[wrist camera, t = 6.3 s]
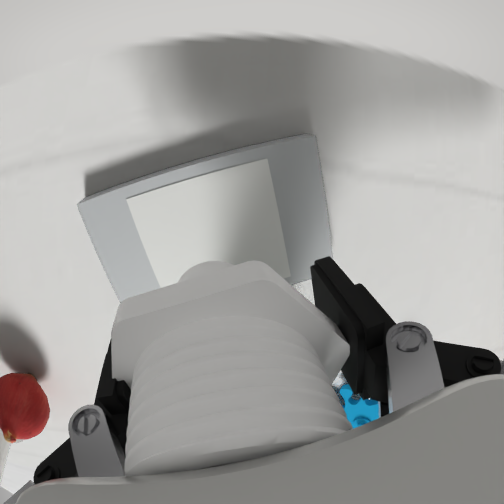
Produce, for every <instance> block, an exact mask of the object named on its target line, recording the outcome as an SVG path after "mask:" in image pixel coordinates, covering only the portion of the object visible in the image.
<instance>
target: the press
mask: <svg viewBox="0 0 504 504" xmlns="http://www.w3.org/2000/svg"><path fill="white" fill-rule="evenodd" d="M77 206H78V209H79V212H80V214H81V217H82V219H83V222H84V224H85V227H86V229H87V232H88V234H89V236H90V239H91V241H92V244H93V246H94V248H95V251H96V253H97V255H98V257H99V260H100V262H101V264H102V266H103V268H104V270H105V273H106V275H107V277H108V279H109V281H110V283H111V285H112V287H113V289H114V291H115V293H116V295H117V297H118V299H119V301H120V303H121V302H122V301H123V300H125V299H127V298H129V297H132V296H136V295H139V294H142V293H146V292H149V291H152V290H156V289H159V288H162V287H165V286H169V285H172V284H175V283H177V282H178V281H179V279H180V278H181V276H182V275H183V274H184V273H185V272H186V271H187V270H188V269H189V268H191V267H193V266H195V265H197V264H199V263H203V262H207V261H222V262H228V263H230V264H233V265H237V264H241V263H244V262H247V261H254V260H256V261H261V262H263V263H265V264H267V265H268V266H269V267H271V268H272V269H273V270H274V271H275V272H276V273H278V274H279V275H280V276H281V277H282V278H283V279H284V280H286V281H287V282H288V283H289V284H290V285H293V284H296V283H299V282H302V281H306V280H309V279H312V278H311V271H310V266H312V265H314V261H315V260H318V259H321V258H325V257H328V256H330V257H331V258H332V259H333V255H332V245H331V237H330V228H329V220H328V212H327V205H326V198H325V191H324V184H323V177H322V171H321V165H320V159H319V153H318V147H317V141H316V136H315V135H310V134H302V135H297V136H292V137H287V138H283V139H278V140H273V141H269V142H264V143H260V144H256V145H252V146H247V147H243V148H239V149H235V150H231V151H227V152H224V153H220V154H216V155H212V156H209V157H205V158H201V159H198V160H194V161H191V162H188V163H184V164H181V165H177V166H174V167H171V168H168V169H164V170H161V171H158V172H155V173H152V174H149V175H146V176H143V177H140V178H137V179H134V180H131V181H128V182H125V183H123V184H120V185H117V186H114V187H111V188H109V189H106V190H103V191H101V192H98V193H95V194H93V195H90V196H88V197H85V198H84V199H83V200H81V201H80V202H79V203H78V204H77Z"/></svg>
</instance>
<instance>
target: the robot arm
mask: <svg viewBox="0 0 504 504" xmlns="http://www.w3.org/2000/svg"><path fill="white" fill-rule="evenodd" d="M310 271H311V278H312V285H313V292H314V300H315V306H316V307H317V308H318V309H319V310H320V311H321V312H323V313H324V314H325V315H326V316H327V317H328V318H330V319H331V320H332V321H333V322H334V323H335V324H336V325H337V326H338V328H339V329H340V331H341V333H342V334H343V336H344V337H345V339H346V341H347V342H348V344H349V345H350V355H349V357H348V358H347V360H346V362H345V363H344V365H343V367H342V368H341V371H342V372H343V374H344V376H345V378H346V380H347V382H348V384H349V386H350V387H351V389H352V391H353V393H354V394H358V393H359V394H360V396H361V397H362V399H363V400H366V399H368V398H371V399H372V400H376V401H378V405H379V418H378V419H376V420H373V421H371V422H369V423H366V424H364V425H361V426H359V427H356V428H354V429H351V430H349V431H346V432H343V433H341V434H338V435H335V436H332V437H329V438H327V439H324V440H321V441H318V442H315V443H311V444H308V445H305V446H302V447H298V448H295V449H292V450H288V451H285V452H281V453H277V454H273V455H270V456H266V457H261V458H257V459H253V460H248V461H244V462H239V463H234V464H229V465H224V466H218V467H212V468H206V469H200V470H193V471H185V472H177V473H168V474H157V475H143V476H125V475H126V474H125V471H124V466H125V458H126V454H125V446H126V441H127V436H126V433H127V427H128V413H129V403H130V396H131V389H130V387H129V386H128V385H127V383H126V382H125V381H124V380H121V381H117V379H116V378H113V379H112V356H111V341H110V344H109V348H108V352H107V354H106V357H105V360H104V364H103V368H102V372H101V377H100V381H99V385H98V389H97V394H96V398H95V403H94V405H86V406H83V407H81V408H80V409H78V410H77V411H76V412H75V413H74V414H73V415H72V417H71V419H70V421H69V435H70V438H69V439H68V440H66V441H65V442H64V443H63V444H62V445H61V446H60V447H59V448H57V449H56V450H55V451H54V452H53V453H52V454H51V455H49V456H48V457H47V458H46V459H45V460H44V461H43V462H42V463H40V465H39V466H38V467H37V469H36V471H35V473H34V482H32V481H31V480H30V481H29V482H28V483H26V484H25V485H24V486H23V487H22V488H21V489H20V490H18V491H17V492H16V493H15V494H14V495H13V496H12V497H11V498H9V499H8V500H7V501H6V502H5V503H4V504H504V360H503V361H500V360H499V358H498V357H497V356H496V355H495V354H494V353H493V352H491V351H489V350H486V349H482V348H475V347H469V346H462V345H456V344H450V343H444V342H438V341H433V338H432V335H431V333H430V331H429V330H428V329H427V328H426V327H425V326H423V325H422V324H420V323H416V322H402V323H398V324H396V323H395V322H394V321H393V320H392V318H391V317H390V316H389V315H388V314H387V313H386V311H385V310H384V309H383V308H382V307H381V305H380V304H379V303H378V302H377V301H376V300H375V298H374V297H373V296H372V295H371V294H370V293H369V292H368V290H367V289H366V288H365V287H364V286H363V285H362V284H360V283H359V284H356V285H354V284H353V283H352V281H351V280H350V279H349V278H348V277H347V275H346V274H345V273H344V272H343V271H342V270H341V268H340V267H339V266H338V265H337V264H336V263H335V261H334V260H333V259H332V258H331V257H330V256H328V257H325V258H321V259H318V260H315V261H314V265H312V266H310ZM23 440H24V439H16V442H13V443H18V442H22V441H23ZM10 446H11V443H9V442H7V441H6V440H5V439H4V436H3V432H2V430H1V428H0V485H1V480H2V476H3V472H4V468H5V464H6V460H7V456H8V453H9V449H10Z"/></svg>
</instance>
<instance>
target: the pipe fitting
mask: <svg viewBox="0 0 504 504" xmlns="http://www.w3.org/2000/svg"><path fill="white" fill-rule="evenodd" d="M349 355H350V345H349V344H348V342H347V341H346V339H345V337H344V336H343V334H342V333H341V331H340V329H339V328H338V326H337V325H336V324H335V323H334V322H333V321H332V320H331V319H330V318H328V317H327V316H326V315H325V314H324V313H323V312H321V311H320V310H319V309H318V308H317V307H316V306H315V305H313V304H312V303H311V302H310V301H309V300H308V299H306V298H305V297H304V296H303V295H302V294H301V293H300V292H298V291H297V290H296V289H295V288H294V287H293V286H291V285H290V284H289V283H288V282H287V281H286V280H284V279H283V278H282V277H281V276H280V275H279V274H278V273H276V272H275V271H274V270H273V269H272V268H271V267H269V266H268V265H267V264H265V263H263V262H261V261H256V260H254V261H247V262H244V263H241V264H237V265H233V264H230V263H228V262H222V261H207V262H203V263H199V264H197V265H195V266H193V267H191V268H189V269H188V270H187V271H186V272H185V273H184V274H183V275H182V276H181V278H180V279H179V281H178V282H177V283H175V284H172V285H169V286H165V287H162V288H159V289H156V290H152V291H149V292H146V293H142V294H139V295H136V296H132V297H129V298H127V299H125V300H123V301H122V302H121V303H120V304H119V307H118V310H117V314H116V317H115V321H114V324H113V328H112V332H111V356H112V379H113V378H116V379H117V381H121V380H124V381H125V382H126V383H127V385H128V386H129V387H130V389H131V396H130V403H129V413H128V427H127V433H126V436H127V441H126V446H125V454H126V458H125V466H124V471H125V474H126V475H125V476H143V475H157V474H168V473H177V472H185V471H193V470H200V469H206V468H212V467H218V466H224V465H229V464H234V463H239V462H244V461H248V460H253V459H257V458H261V457H266V456H270V455H273V454H277V453H281V452H285V451H288V450H292V449H295V448H298V447H302V446H305V445H308V444H311V443H315V442H318V441H321V440H324V439H327V438H329V437H332V436H335V435H338V434H341V433H343V432H346V431H349V430H351V429H353V427H352V425H351V423H350V422H349V421H348V420H347V415H346V413H345V411H344V409H343V407H342V405H341V404H340V401H339V398H338V396H337V394H336V392H335V390H334V389H333V387H332V383H333V381H334V380H335V378H336V376H337V375H338V373H339V372H340V370H341V368H342V367H343V365H344V363H345V362H346V360H347V358H348V357H349Z"/></svg>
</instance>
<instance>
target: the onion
mask: <svg viewBox="0 0 504 504" xmlns="http://www.w3.org/2000/svg"><path fill="white" fill-rule="evenodd" d="M49 413H50V408H49V404H48V399H47V396H46V394H45V393H44V391H43V389H42V388H41V386H40V385H39V384H38V382H37V380H36V378H35V377H34V376H33V375H31V374H23V373H10V374H7V375H4V376H2V377H0V428H1V430H2V432H3V436H4V439H5V440H6V441H7V442H9V443H13V442H16V439H29V438H32V437H35V436H37V435H38V434H40V433H41V432H42V430H43V429H44V427H45V425H46V423H47V421H48V419H49Z"/></svg>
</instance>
